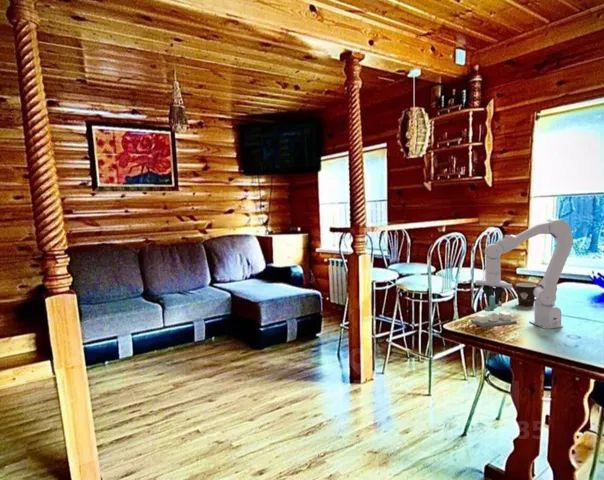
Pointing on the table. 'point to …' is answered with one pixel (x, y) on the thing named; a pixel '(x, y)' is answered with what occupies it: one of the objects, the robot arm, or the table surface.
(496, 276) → the robot arm
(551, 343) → the table surface
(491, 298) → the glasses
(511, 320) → the display stand
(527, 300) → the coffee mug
